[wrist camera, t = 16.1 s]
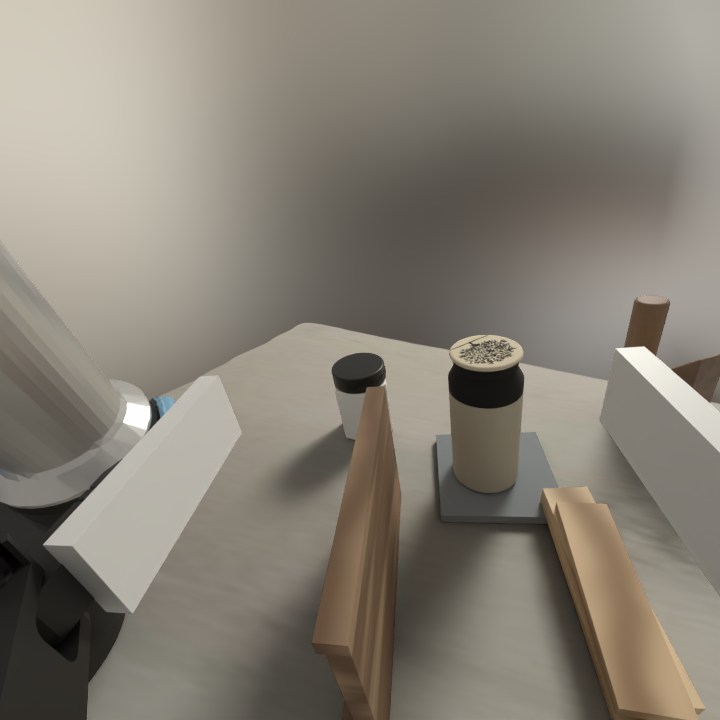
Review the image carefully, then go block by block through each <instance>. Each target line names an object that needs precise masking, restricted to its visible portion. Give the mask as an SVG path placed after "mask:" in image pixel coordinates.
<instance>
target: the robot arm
mask: <svg viewBox="0 0 720 720" xmlns="http://www.w3.org/2000/svg"><path fill="white" fill-rule="evenodd" d="M600 421H601V423H602V424H603V426H604V427H605V429H606V430H607V432H608V433H609V434H610V436H611V437H612V439H613V440H614V442H615V443H616V445H617V446H618V448H619V449H620V451H621V452H622V454H623V455H624V456H625V458H626V459H627V461H628V462H629V464H630V465H631V467H632V468H633V470H634V471H635V473H636V474H637V476H638V477H639V478H640V480H641V481H642V483H643V484H644V486H645V487H646V489H647V490H648V492H649V493H650V495H651V496H652V498H653V499H654V501H655V502H656V503H657V505H658V506H659V508H660V509H661V511H662V512H663V514H664V515H665V517H666V518H667V520H668V521H669V523H670V524H671V525H672V527H673V528H674V530H675V531H676V533H677V534H678V536H679V537H680V539H681V540H682V542H683V543H684V545H685V546H686V548H687V549H688V550H689V552H690V553H691V555H692V556H693V558H694V559H695V561H696V562H697V564H698V565H699V567H700V568H701V570H702V571H703V572H704V574H705V575H706V577H707V578H708V580H709V581H710V583H711V584H712V586H713V587H714V589H715V590H716V592H717V593H718V594H719V596H720V412H719V411H718V410H717V409H716V408H715V407H714V406H712V405H711V404H710V403H709V402H708V401H707V400H706V399H704V398H703V397H702V396H701V395H700V394H699V393H697V392H696V391H695V390H694V389H693V388H692V387H691V386H689V385H688V384H687V383H686V382H685V381H684V380H682V379H681V378H680V377H679V376H678V375H677V374H675V373H674V372H673V371H672V370H671V369H670V368H669V367H667V366H666V365H665V364H664V363H663V362H662V361H660V360H659V359H658V358H657V357H656V356H655V355H654V354H652V353H651V352H650V351H649V350H648V349H647V348H645V347H629V348H616V349H615V353H614V357H613V362H612V366H611V371H610V376H609V380H608V385H607V389H606V394H605V398H604V403H603V408H602V412H601V417H600ZM241 433H242V432H241V429H240V427H239V424H238V422H237V419H236V417H235V415H234V412H233V410H232V407H231V405H230V402H229V400H228V397H227V395H226V393H225V390H224V388H223V385H222V383H221V380H220V378H219V376H218V375H215V376H200V377H199V378H198V379H197V380H196V381H195V382H194V383H193V384H192V385H191V386H190V387H189V389H188V390H187V391H186V392H185V393H184V394H183V395H182V396H181V397H180V398H179V399H178V400H177V401H176V402H175V401H174V399H173V398H172V397H169V396H164V397H154V398H152V399H151V401H149V400H148V399H147V397H146V396H145V395H144V394H143V392H142V391H141V390H140V389H139V388H137V387H136V386H134V385H132V384H130V383H127V382H124V381H120V380H113V379H107V378H106V377H105V375H104V374H103V373H102V371H101V370H100V369H99V368H98V366H97V365H96V364H95V363H94V361H93V360H92V358H91V357H90V356H89V355H88V353H87V352H86V351H85V349H84V348H83V347H82V345H81V344H80V343H79V341H78V340H77V339H76V338H75V336H74V335H73V334H72V332H71V331H70V330H69V329H68V327H67V326H66V325H65V323H64V322H63V321H62V319H61V318H60V317H59V316H58V315H57V313H56V312H55V310H54V309H53V308H52V307H51V305H50V304H49V303H48V301H47V300H46V299H45V297H44V296H43V295H42V294H41V292H40V291H39V290H38V289H37V287H36V286H35V284H34V283H33V282H32V281H31V279H30V278H29V277H28V275H27V274H26V273H25V272H24V270H23V269H22V268H21V267H20V265H19V264H18V262H17V261H16V260H15V259H14V257H13V256H12V255H11V253H10V252H9V251H8V249H7V248H6V247H5V246H4V244H3V243H2V242H1V240H0V720H87V699H88V682H89V680H90V679H91V678H92V677H93V675H94V674H95V673H96V671H97V670H98V669H99V667H100V666H101V664H102V663H103V662H104V660H105V658H106V657H107V655H108V654H109V652H110V650H111V648H112V647H113V645H114V643H115V641H116V639H117V637H118V634H119V632H120V629H121V627H122V624H123V620H124V616H125V613H128V614H133V612H134V611H135V609H136V607H137V606H138V604H139V602H140V601H141V599H142V597H143V596H144V594H145V592H146V591H147V589H148V587H149V586H150V584H151V582H152V581H153V579H154V577H155V576H156V574H157V572H158V571H159V569H160V567H161V566H162V564H163V562H164V561H165V559H166V557H167V556H168V554H169V552H170V551H171V549H172V548H173V546H174V544H175V543H176V541H177V539H178V538H179V536H180V534H181V533H182V531H183V529H184V528H185V526H186V524H187V523H188V521H189V519H190V518H191V516H192V514H193V513H194V511H195V509H196V508H197V506H198V504H199V503H200V501H201V499H202V498H203V496H204V494H205V493H206V491H207V489H208V488H209V486H210V484H211V483H212V481H213V479H214V478H215V476H216V474H217V473H218V471H219V470H220V468H221V466H222V465H223V463H224V461H225V460H226V458H227V456H228V455H229V453H230V451H231V450H232V448H233V446H234V445H235V443H236V441H237V440H238V438H239V436H240V435H241Z"/></svg>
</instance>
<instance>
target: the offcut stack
mask: <svg viewBox="0 0 720 720" xmlns="http://www.w3.org/2000/svg"><path fill="white" fill-rule="evenodd" d="M540 501H541V504H542V507H543V510H544V514H545V517H546V520H547V523H548V526H549V529H550V532H551V535H552V538H553V541H554V544H555V547H556V550H557V553H558V556H559V559H560V562H561V566H562V569H563V572H564V575H565V578H566V581H567V584H568V587H569V590H570V593H571V596H572V599H573V602H574V605H575V608H576V611H577V615H578V618H579V621H580V624H581V627H582V630H583V633H584V636H585V639H586V642H587V645H588V648H589V651H590V654H591V657H592V660H593V663H594V667H595V670H596V673H597V676H598V679H599V682H600V685H601V688H602V691H603V694H604V697H605V700H606V703H607V706H608V709H609V712H610V716H611V719H612V720H699V719H698V716H697V714H700V713H701V712H702V711H704V710H705V707H704V705H703V703H702V701H701V699H700V698H699V696H698V694H697V692H696V690H695V688H694V686H693V684H692V683H691V681H690V679H689V677H688V675H687V673H686V671H685V669H684V668H683V666H682V664H681V662H680V660H679V658H678V656H677V654H676V653H675V651H674V649H673V647H672V645H671V643H670V641H669V639H668V638H667V636H666V634H665V632H664V630H663V628H662V626H661V624H660V623H659V621H658V619H657V617H656V615H655V613H654V611H653V609H652V608H651V606H650V604H649V602H648V600H647V597H646V595H645V593H644V590H643V588H642V586H641V583H640V581H639V579H638V576H637V574H636V572H635V569H634V567H633V565H632V562H631V560H630V558H629V555H628V553H627V551H626V548H625V546H624V544H623V541H622V539H621V537H620V534H619V532H618V530H617V527H616V525H615V523H614V520H613V518H612V516H611V513H610V511H609V509H608V506H607V504H597V503H596V502H595V501H594V499H593V497H592V495H591V493H590V491H589V489H588V487H567V488H544V489H543V490H542V493H541V498H540Z"/></svg>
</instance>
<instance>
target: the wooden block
mask: <svg viewBox="0 0 720 720" xmlns="http://www.w3.org/2000/svg"><path fill="white" fill-rule="evenodd" d="M669 306H670V301H669V299H667V298H665V297H661V296H654V295H646V296H640V297H637V298H636V299H635V301H634V305H633V310H632V314H631V319H630V323H629V328H628V332H627V337H626V341H625V346H624V348H629V347H645V348H647V349H648V350H649V351H650V352H651V353H652V354H654V355H655V356H656V354H657V350H658V346H659V343H660V339H661V335H662V332H663V328H664V324H665V321H666V317H667V313H668V310H669ZM671 370H672V371H673V372H674V373H675V374H677V375H678V376H679V377H680V378H681V379H682V380H684V381H685V382H686V383H687V384H688V385H689V386H691V387H692V388H693V389H694V390H695V391H696V392H697V393H699V394H700V395H701V396H702V397H703V398H704V399H706V400H707V401H708V402H709V403H710V401H711V399H712V396H713V393H714V390H715V388H716V385H717V383H718V380H719V377H720V354H719V355H715V356H712V357H708V358H704V359H700V360H697V361H694V362H691V363H688V364H684V365H682V366H678V367H675V368H672V369H671Z"/></svg>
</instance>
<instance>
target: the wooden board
mask: <svg viewBox="0 0 720 720" xmlns="http://www.w3.org/2000/svg"><path fill="white" fill-rule="evenodd" d="M400 506H401V490H400V484H399V477H398V470H397V464H396V457H395V450H394V444H393V437H392V431H391V424H390V417H389V411H388V404H387V397H386V391H385V386H380V387H367V389H366V393H365V398H364V403H363V407H362V412H361V416H360V421H359V426H358V430H357V435H356V439H355V444H354V449H353V453H352V458H351V462H350V467H349V472H348V476H347V481H346V485H345V490H344V495H343V499H342V504H341V509H340V513H339V518H338V522H337V527H336V532H335V536H334V541H333V545H332V550H331V555H330V559H329V564H328V568H327V573H326V578H325V582H324V587H323V591H322V596H321V601H320V605H319V610H318V614H317V619H316V624H315V628H314V633H313V637H312V642H311V643H312V645H313V647H314V649H315V652H316V653H318V654H325V655H326V658H327V660H328V662H329V665H330V667H331V669H332V671H333V674H334V676H335V678H336V681H337V683H338V685H339V688H340V690H341V692H342V695H343V697H344V699H345V702H344V710H343V717H342V720H390V705H391V685H392V665H393V645H394V626H395V606H396V586H397V566H398V546H399V526H400Z"/></svg>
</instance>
